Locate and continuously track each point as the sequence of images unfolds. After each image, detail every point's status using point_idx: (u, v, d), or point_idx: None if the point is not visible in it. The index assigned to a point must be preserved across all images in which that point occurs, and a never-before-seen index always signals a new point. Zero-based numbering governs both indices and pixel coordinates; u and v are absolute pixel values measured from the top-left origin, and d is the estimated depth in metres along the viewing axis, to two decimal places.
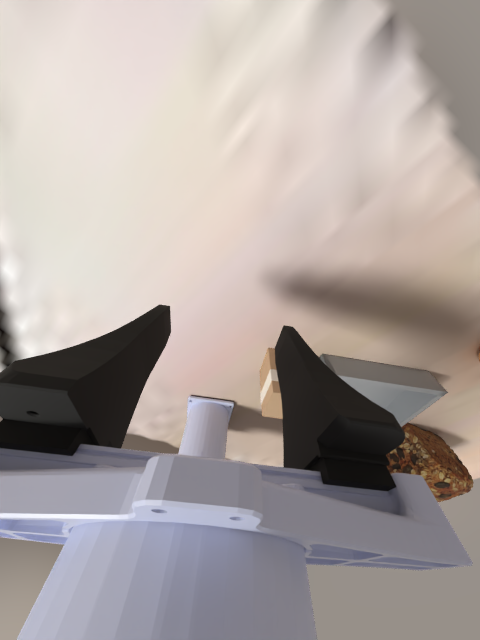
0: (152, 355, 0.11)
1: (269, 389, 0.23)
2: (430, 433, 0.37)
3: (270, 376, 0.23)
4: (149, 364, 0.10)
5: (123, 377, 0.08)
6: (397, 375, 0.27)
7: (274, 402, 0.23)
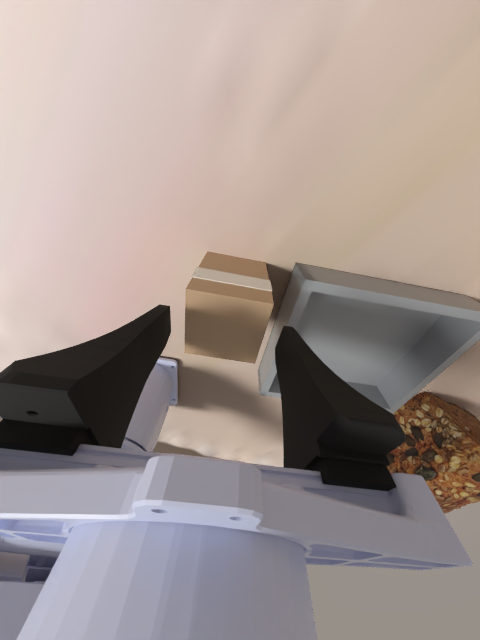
0: (152, 355, 0.11)
1: None
2: (457, 407, 0.27)
3: None
4: (149, 364, 0.10)
5: (123, 377, 0.08)
6: (419, 292, 0.16)
7: (196, 317, 0.12)
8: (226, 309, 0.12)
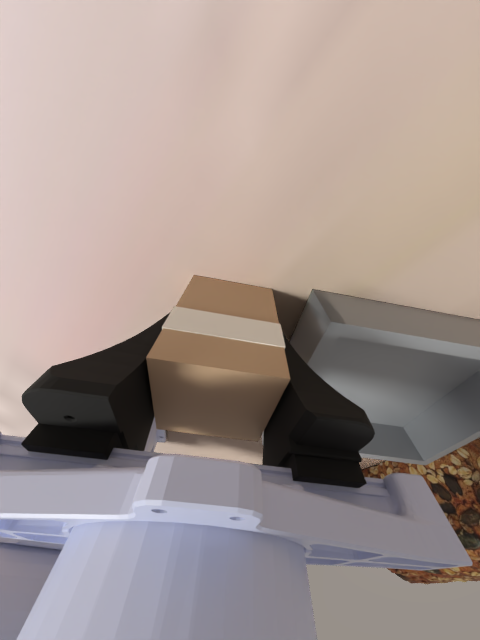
0: None
1: None
2: None
3: None
4: None
5: (149, 381, 0.08)
6: None
7: (167, 391, 0.08)
8: (214, 383, 0.07)
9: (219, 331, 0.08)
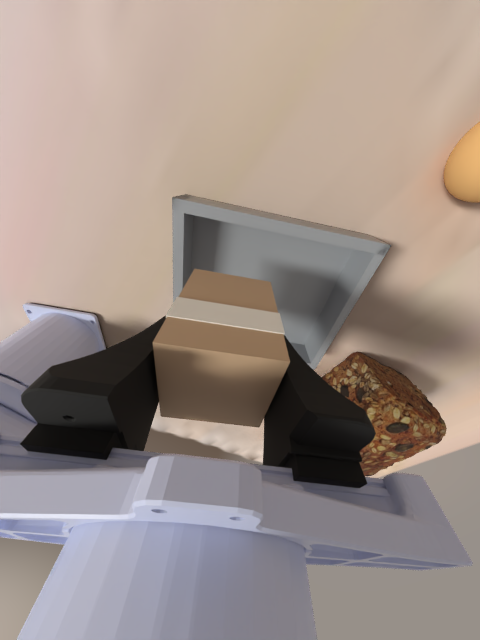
0: None
1: None
2: (391, 369, 0.26)
3: None
4: None
5: (148, 381, 0.08)
6: (308, 224, 0.15)
7: (172, 377, 0.08)
8: (217, 368, 0.08)
9: (221, 319, 0.09)
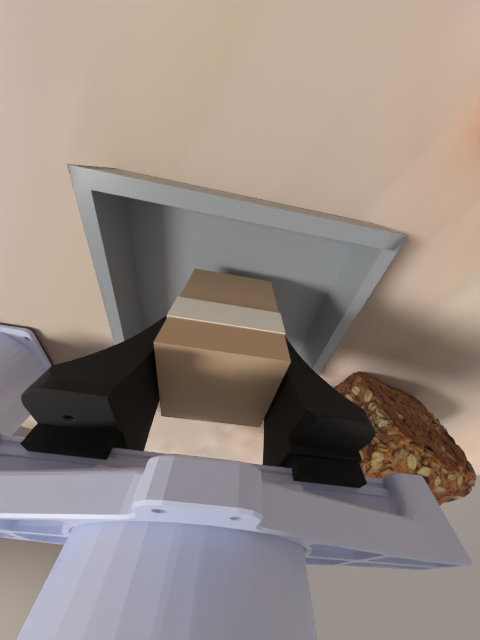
0: None
1: None
2: (400, 392, 0.21)
3: None
4: None
5: (148, 381, 0.08)
6: (285, 207, 0.11)
7: (173, 377, 0.08)
8: (218, 367, 0.08)
9: (222, 319, 0.09)
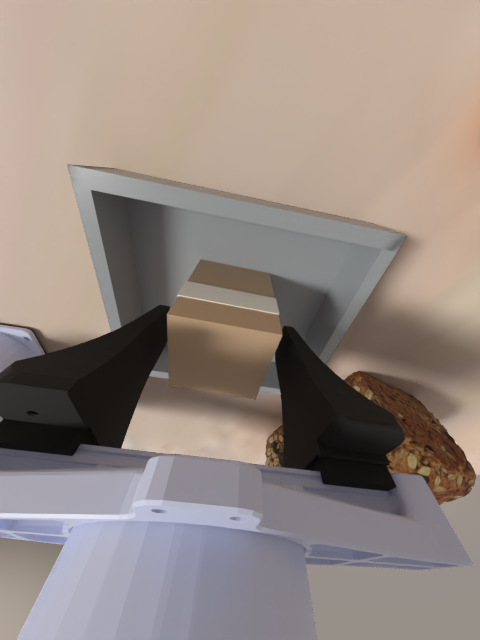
0: (152, 355, 0.11)
1: None
2: (400, 392, 0.21)
3: None
4: (149, 364, 0.10)
5: (123, 377, 0.08)
6: (284, 207, 0.11)
7: (181, 347, 0.09)
8: (220, 339, 0.09)
9: (224, 300, 0.10)
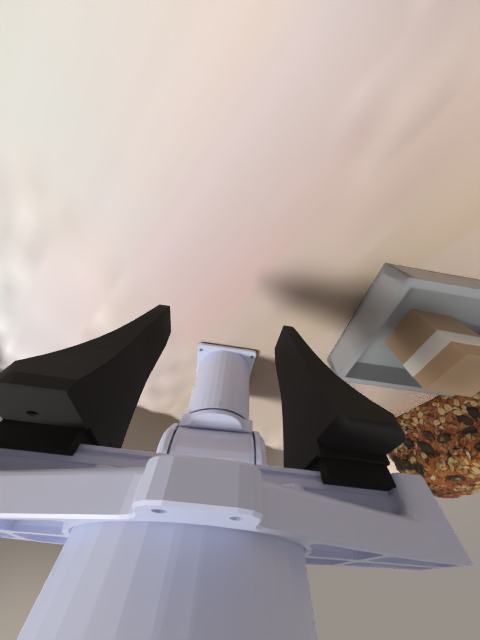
0: (152, 355, 0.11)
1: (445, 353, 0.18)
2: None
3: (442, 338, 0.18)
4: (149, 364, 0.10)
5: (123, 377, 0.08)
6: None
7: (456, 369, 0.17)
8: None
9: (471, 342, 0.18)
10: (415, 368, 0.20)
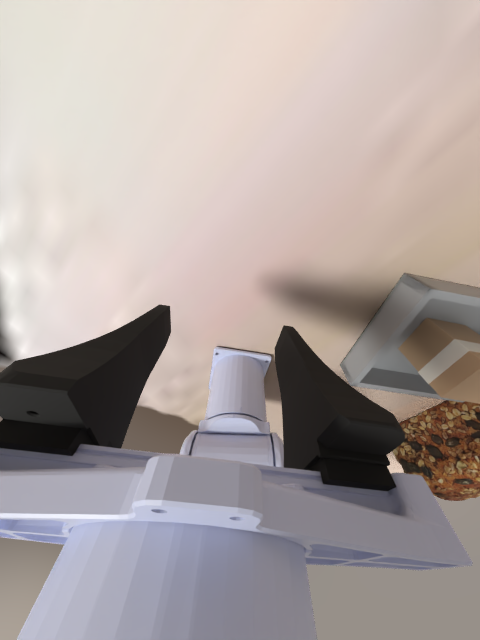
0: (152, 355, 0.11)
1: (463, 362, 0.18)
2: None
3: (460, 347, 0.19)
4: (149, 364, 0.10)
5: (123, 377, 0.08)
6: None
7: (474, 378, 0.18)
8: None
9: None
10: (431, 375, 0.21)
